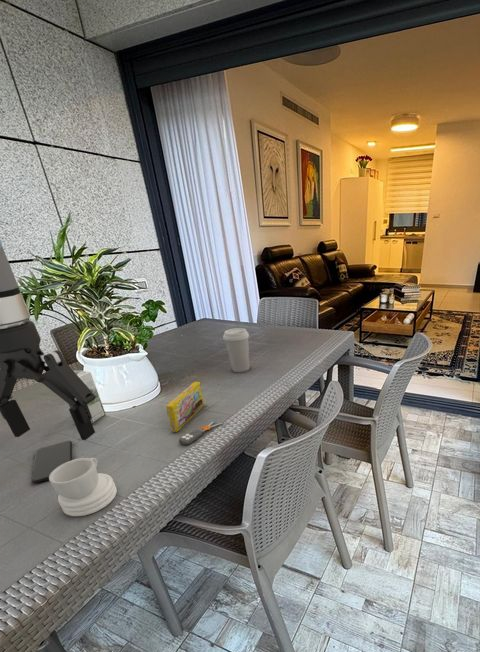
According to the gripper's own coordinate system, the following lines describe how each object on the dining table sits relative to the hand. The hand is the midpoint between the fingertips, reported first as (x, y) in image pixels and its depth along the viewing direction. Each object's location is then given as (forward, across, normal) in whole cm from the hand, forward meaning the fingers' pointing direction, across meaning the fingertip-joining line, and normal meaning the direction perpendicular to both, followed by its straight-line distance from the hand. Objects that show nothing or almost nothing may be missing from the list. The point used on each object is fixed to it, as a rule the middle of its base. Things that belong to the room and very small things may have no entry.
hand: (55, 434), depth 67 cm
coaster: (+17, -1, 0) cm, 17 cm away
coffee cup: (+17, -12, -73) cm, 76 cm away
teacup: (+13, -1, 0) cm, 13 cm away
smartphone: (+17, +17, -12) cm, 27 cm away
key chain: (+17, -15, -27) cm, 35 cm away
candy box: (+17, -8, -35) cm, 39 cm away
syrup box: (+17, +23, -33) cm, 44 cm away
